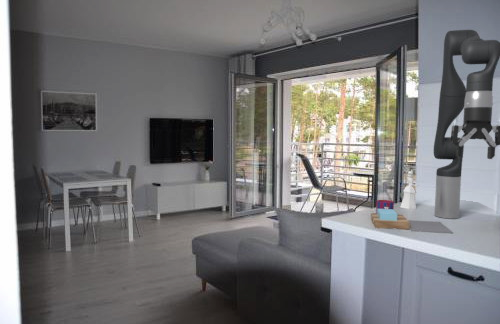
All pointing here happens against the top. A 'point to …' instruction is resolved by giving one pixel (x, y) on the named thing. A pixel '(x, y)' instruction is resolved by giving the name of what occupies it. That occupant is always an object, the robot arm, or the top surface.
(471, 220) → the top surface
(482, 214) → the top surface
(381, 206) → the mug
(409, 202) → the figurine
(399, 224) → the deck
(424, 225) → the mat
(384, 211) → the light blue block
